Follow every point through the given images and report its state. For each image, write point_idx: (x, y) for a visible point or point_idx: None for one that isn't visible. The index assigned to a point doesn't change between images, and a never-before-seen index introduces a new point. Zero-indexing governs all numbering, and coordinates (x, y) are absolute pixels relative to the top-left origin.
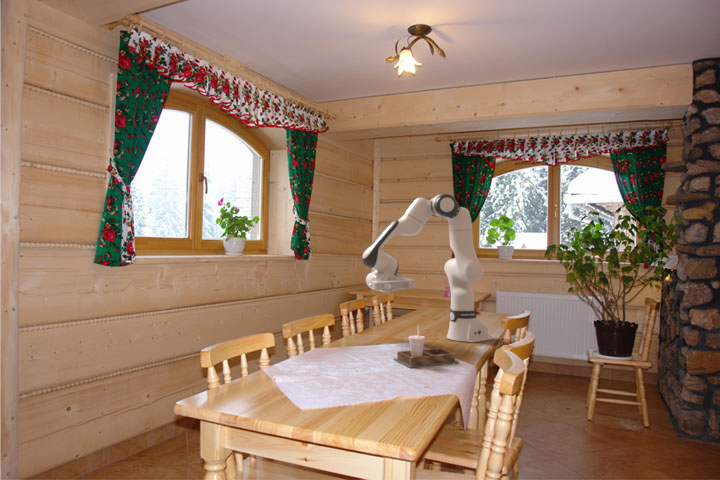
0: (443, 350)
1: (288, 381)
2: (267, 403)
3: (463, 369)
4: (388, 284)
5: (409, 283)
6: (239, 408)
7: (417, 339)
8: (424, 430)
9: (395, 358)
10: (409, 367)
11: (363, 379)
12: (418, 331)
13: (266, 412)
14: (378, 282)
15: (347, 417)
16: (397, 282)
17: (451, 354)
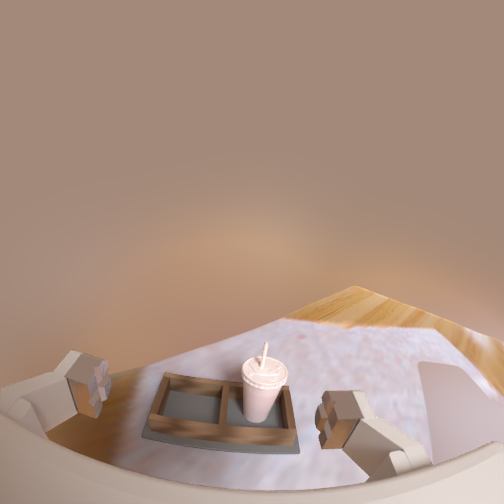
0: (161, 401)
1: (473, 378)
2: (464, 340)
3: (189, 359)
4: (373, 422)
5: (75, 366)
6: (477, 337)
7: (273, 359)
8: (341, 292)
9: (294, 451)
10: (290, 395)
11: (385, 372)
12: (264, 354)
13: (456, 330)
14: (491, 443)
15: (396, 314)
16: (170, 483)
17: (175, 375)
